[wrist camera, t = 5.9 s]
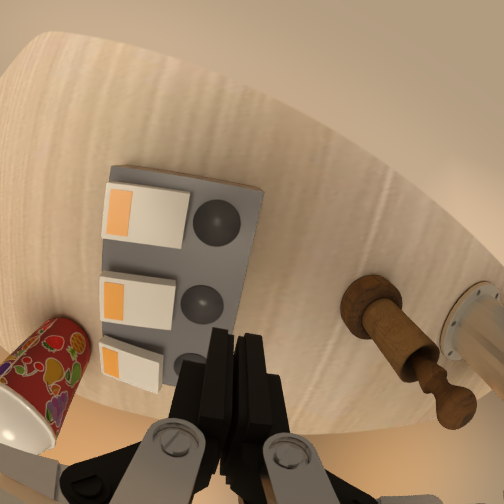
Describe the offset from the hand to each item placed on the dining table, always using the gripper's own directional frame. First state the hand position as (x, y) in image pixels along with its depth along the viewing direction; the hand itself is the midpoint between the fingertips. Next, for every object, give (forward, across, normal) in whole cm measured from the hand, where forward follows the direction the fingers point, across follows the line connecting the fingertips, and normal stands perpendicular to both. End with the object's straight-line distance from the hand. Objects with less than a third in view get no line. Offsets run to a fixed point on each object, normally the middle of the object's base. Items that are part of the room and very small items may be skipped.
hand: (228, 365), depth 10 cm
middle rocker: (+13, +7, +5) cm, 16 cm away
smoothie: (+17, +17, +15) cm, 28 cm away
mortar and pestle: (+18, -15, +4) cm, 24 cm away
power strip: (+17, +5, +5) cm, 18 cm away
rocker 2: (+13, +7, +12) cm, 20 cm away
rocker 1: (+13, +7, -2) cm, 15 cm away
